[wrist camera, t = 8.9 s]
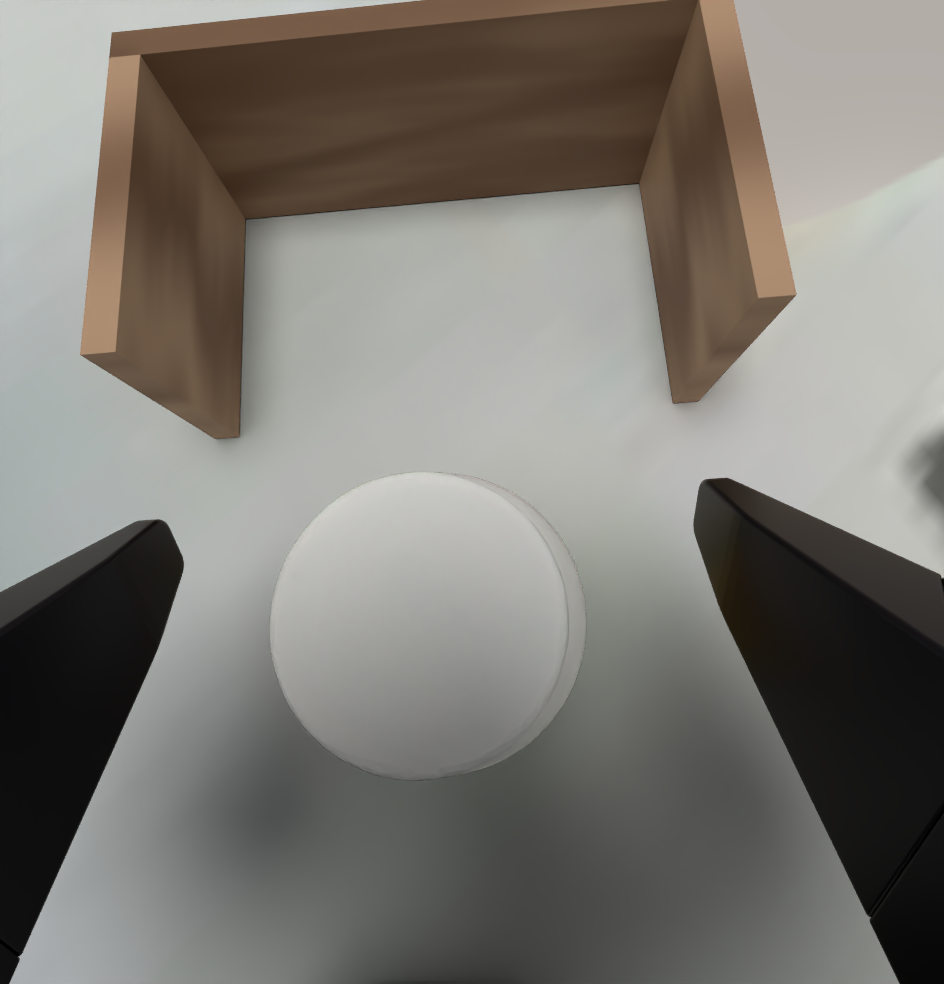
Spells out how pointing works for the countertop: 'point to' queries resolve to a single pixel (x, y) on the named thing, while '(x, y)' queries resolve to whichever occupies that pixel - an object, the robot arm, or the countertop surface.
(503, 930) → the countertop surface
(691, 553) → the countertop surface
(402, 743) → the supplement bottle
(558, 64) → the u-shaped walnut enclosure
